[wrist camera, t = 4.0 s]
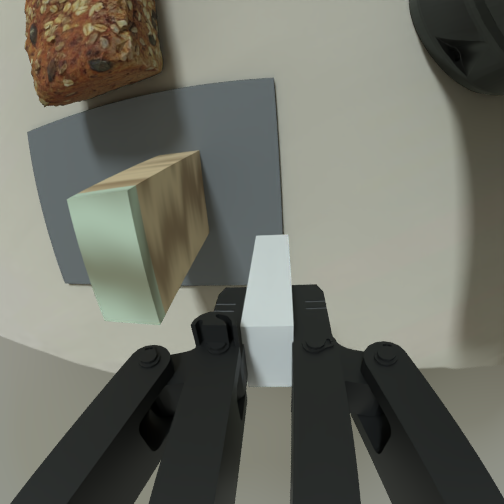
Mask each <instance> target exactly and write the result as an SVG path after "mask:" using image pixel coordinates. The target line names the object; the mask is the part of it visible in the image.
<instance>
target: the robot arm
mask: <svg viewBox="0 0 504 504" xmlns="http://www.w3.org/2000/svg"><path fill="white" fill-rule="evenodd" d="M409 6H410V12H411V16H412V20H413V23H414V26H415V28H416V30H417V33H418V35H419V37H420V39H421V41H422V42H423V44H424V46H425V47H426V49H427V51H428V52H429V53H430V55H431V56H432V58H433V59H434V60H435V61H436V63H437V64H438V65H439V66H440V67H441V68H442V69H443V70H444V71H445V72H446V73H447V74H448V75H449V76H450V77H451V78H453V79H454V80H455V81H456V82H458V83H459V84H461V85H462V86H464V87H466V88H468V89H470V90H472V91H474V92H477V93H481V94H489V95H504V0H409ZM191 328H192V332H193V336H194V340H195V344H196V348H195V349H193V350H191V351H187V352H183V353H178V354H172V355H170V353H169V352H168V350H167V349H166V348H164V347H162V346H158V345H150V346H145V347H143V348H140V349H138V350H137V351H136V352H135V353H133V354H132V355H131V357H130V358H129V359H128V360H127V361H126V362H125V364H124V365H123V366H122V367H121V368H120V369H119V371H118V372H117V373H116V374H115V375H114V377H113V378H112V379H111V380H110V381H109V382H108V384H107V385H106V386H105V387H104V389H103V390H102V391H101V392H100V393H99V394H98V396H97V397H96V398H95V399H94V400H93V402H92V403H91V404H90V405H89V407H88V408H87V409H86V410H85V411H84V412H83V414H82V415H81V416H80V417H79V418H78V420H77V421H76V422H75V423H74V425H73V426H72V427H71V428H70V429H69V431H68V432H67V433H66V434H65V436H64V437H63V438H62V439H61V440H60V442H59V443H58V444H57V445H56V446H55V448H54V449H53V450H52V452H51V453H50V454H49V455H48V456H47V458H46V459H45V460H44V461H43V463H42V464H41V465H40V467H39V468H38V469H37V470H36V471H35V473H34V474H33V475H32V477H31V478H30V479H29V480H28V482H27V483H26V484H25V486H24V487H23V488H22V489H21V491H20V492H19V493H18V495H17V496H16V497H15V498H14V500H13V501H12V502H11V504H134V502H135V501H136V499H137V498H138V496H139V494H140V492H141V491H142V490H143V488H144V486H145V485H146V483H147V482H148V480H149V478H150V477H151V475H152V474H153V472H154V470H155V469H156V467H157V465H158V464H159V462H160V460H161V462H160V466H159V469H158V472H157V476H156V479H155V483H154V486H153V490H152V494H151V497H150V501H149V504H235V496H236V488H237V481H238V473H239V465H240V457H241V448H242V440H243V432H244V423H245V415H246V406H247V394H246V386H247V382H248V386H249V387H292V400H291V412H292V425H291V428H292V431H291V432H292V433H291V437H292V438H291V490H290V504H361V501H360V491H359V482H358V481H359V480H358V471H357V463H356V455H355V447H354V440H353V432H352V425H351V418H350V413H351V416H352V418H353V420H354V422H355V424H356V427H357V429H358V431H359V433H360V435H361V437H362V439H363V442H364V444H365V446H366V448H367V450H368V452H369V454H370V456H371V459H372V461H373V463H374V465H375V467H376V470H377V472H378V474H379V476H380V478H381V480H382V483H383V485H384V487H385V489H386V491H387V494H388V496H389V498H390V500H391V502H392V504H504V498H503V496H502V495H501V493H500V491H499V489H498V488H497V486H496V484H495V483H494V481H493V479H492V478H491V476H490V474H489V473H488V471H487V470H486V468H485V466H484V465H483V463H482V461H481V460H480V458H479V457H478V455H477V453H476V452H475V450H474V449H473V447H472V446H471V445H470V443H469V441H468V440H467V438H466V436H465V435H464V434H463V432H462V431H461V429H460V428H459V426H458V425H457V423H456V422H455V420H454V419H453V417H452V416H451V414H450V413H449V411H448V410H447V408H446V407H445V406H444V404H443V403H442V401H441V400H440V399H439V397H438V396H437V394H436V393H435V391H434V390H433V389H432V387H431V386H430V384H429V383H428V382H427V380H426V379H425V378H424V376H423V375H422V373H421V372H420V371H419V369H418V368H417V367H416V365H415V364H414V363H413V361H412V360H411V359H410V357H409V356H408V355H407V353H406V352H405V351H404V350H403V349H402V348H401V347H400V346H398V345H396V344H394V343H391V342H384V341H383V342H376V343H373V344H371V345H369V346H368V347H367V348H366V350H365V351H364V352H363V351H357V350H352V349H348V348H345V347H343V346H341V345H340V344H338V343H337V342H336V340H335V338H334V337H333V336H332V333H331V328H330V322H329V317H328V312H327V309H326V303H325V298H324V293H323V291H322V290H321V289H320V288H319V287H318V286H317V285H316V284H314V285H291V269H290V253H289V239H288V235H261V236H256V239H255V245H254V251H253V256H252V262H251V268H250V273H249V279H248V285H247V287H236V288H225V289H224V290H223V291H222V292H221V293H220V294H219V296H218V299H217V302H216V305H215V309H214V312H208V313H205V314H202V315H200V316H199V317H197V318H196V319H194V321H193V322H192V324H191Z"/></svg>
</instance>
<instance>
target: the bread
mask: <svg viewBox="0 0 504 504" xmlns="http://www.w3.org/2000/svg"><path fill="white" fill-rule="evenodd" d="M25 14H26V34H25V35H26V37H27V40H26V42H25V50H26V51H27V53H28V56H29V60H30V63H31V66H32V71H31V74H32V76H33V79H34V86H35V90H36V92H37V95H38V96H39V101H40V102H41V103H42V104H43V105H44V107H46V106H53V105H54V106H59V105H61V106H63V105H67V104H71V103H74V102H80V101H82V100H87V99H90V98H93V97H96V96H98V95H101V94H104V93H106V92H108V91H111V90H115V89H117V88H120V87H122V86H125V85H130V84H133V83H136V82H138V81H141V80H144V79H146V78H149V77H151V76H154V75H156V74H158V73H160V72H161V71H162V67H163V58H162V54H161V51H160V48H159V47H160V43H159V37H158V25H157V20H156V19H157V15H156V8H155V0H26V4H25Z"/></svg>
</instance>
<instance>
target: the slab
mask: <svg viewBox="0 0 504 504" xmlns="http://www.w3.org/2000/svg"><path fill="white" fill-rule="evenodd" d="M67 203H68V207H69V211H70V215H71V219H72V223H73V227H74V230H75V234H76V238H77V241H78V245H79V248H80V251H81V255H82V258H83V261H84V264H85V267H86V270H87V273H88V276H89V279H90V282H91V285H92V288H93V291H94V294H95V296H96V299H97V302H98V304H99V307H100V310H101V312H102V315H103V317H104V320H105V321H112V322H124V323H138V324H153V325H160V324H161V322H162V321H163V319H164V317H165V315H166V313H167V311H168V309H169V307H170V305H171V303H172V301H173V299H174V297H175V295H176V293H177V292H178V290H179V288H180V286H181V284H182V282H183V280H184V278H185V276H186V275H187V273H188V271H189V269H190V267H191V265H192V263H193V262H194V260H195V258H196V256H197V254H198V252H199V251H200V249H201V247H202V245H203V243H204V242H205V240H206V238H207V236H208V234H209V225H208V218H207V210H206V203H205V195H204V187H203V178H202V170H201V161H200V152H199V150H198V151H189V152H181V153H173V154H165V155H158V156H156V157H154V158H151V159H149V160H147V161H144V162H142V163H140V164H137V165H135V166H133V167H131V168H129V169H126V170H124V171H122V172H120V173H118V174H116V175H114V176H111V177H109V178H107V179H105V180H103V181H101V182H99V183H97V184H95V185H93V186H91V187H89V188H87V189H85V190H83V191H81V192H80V193H78V194H76V195H74V196H72V197H70V198H68V199H67Z"/></svg>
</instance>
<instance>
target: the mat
mask: <svg viewBox="0 0 504 504" xmlns="http://www.w3.org/2000/svg"><path fill="white" fill-rule="evenodd" d="M27 134H28V141H29V148H30V154H31V160H32V166H33V171H34V176H35V181H36V186H37V190H38V195H39V199H40V203H41V207H42V211H43V215H44V219H45V223H46V226H47V230H48V233H49V237H50V240H51V243H52V247H53V250H54V253H55V256H56V259H57V262H58V265H59V268H60V271H61V273H62V276H63V279H64V282H65V283H71V284H91V282H90V279H89V276H88V273H87V270H86V267H85V264H84V261H83V258H82V255H81V251H80V248H79V245H78V241H77V238H76V234H75V230H74V227H73V223H72V219H71V215H70V211H69V207H68V203H67V199H68V198H70V197H72V196H74V195H76V194H78V193H80V192H81V191H83V190H85V189H87V188H89V187H91V186H93V185H95V184H97V183H99V182H101V181H103V180H105V179H107V178H109V177H111V176H114V175H116V174H118V173H120V172H122V171H124V170H126V169H129V168H131V167H133V166H135V165H137V164H140V163H142V162H144V161H147V160H149V159H151V158H154V157H156V156H158V155H165V154H173V153H181V152H189V151H198V150H199V152H200V161H201V170H202V178H203V187H204V195H205V203H206V210H207V218H208V225H209V234H208V236H207V238H206V240H205V242H204V243H203V245H202V247H201V249H200V251H199V252H198V254H197V256H196V258H195V260H194V262H193V263H192V265H191V267H190V269H189V271H188V273H187V275H186V276H185V278H184V280H183V282H182V284H181V285H185V286H196V285H248V279H249V273H250V268H251V262H252V256H253V251H254V245H255V239H256V236H261V235H283V231H282V207H281V186H280V167H279V150H278V134H277V118H276V104H275V91H274V78H262V79H248V80H237V81H228V82H219V83H211V84H204V85H197V86H190V87H184V88H179V89H173V90H168V91H162V92H157V93H153V94H148V95H143V96H139V97H135V98H131V99H127V100H123V101H119V102H115V103H111V104H108V105H104V106H101V107H97V108H94V109H90V110H87V111H84V112H81V113H78V114H75V115H72V116H69V117H66V118H63V119H60V120H57V121H55V122H52V123H49V124H47V125H44V126H41V127H39V128H36V129H34V130H31V131H29V132H27Z"/></svg>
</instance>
